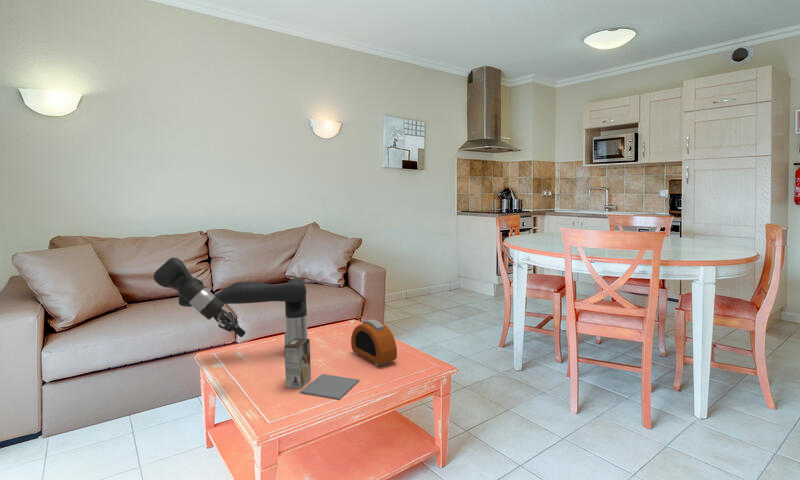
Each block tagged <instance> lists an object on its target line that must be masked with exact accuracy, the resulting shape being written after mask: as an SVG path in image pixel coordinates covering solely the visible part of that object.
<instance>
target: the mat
mask: <svg viewBox="0 0 800 480" xmlns="http://www.w3.org/2000/svg"><path fill="white" fill-rule="evenodd" d="M359 382H360V379H358V378H351V377H343V376H339V375H332V374H331V375H330V374H324V373H322V374H320V375H319V376H318V377H316V378H315V379H314V380H312V381H311V382H310V383H308V385H306V386H305V387H303V388H301V390H300V391H299V393H300V394H304V395H309V396H316V397H322V398H327V399H332V400H339V401H340V400H341V399H343V397H344V396H345V395H347V394H348V393H349V392H350V391H351V389H353V387H355V386H356V385H357V384H358V383H359Z"/></svg>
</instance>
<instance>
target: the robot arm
mask: <svg viewBox="0 0 800 480" xmlns="http://www.w3.org/2000/svg"><path fill="white" fill-rule="evenodd" d="M153 280H154V282H155V283H156V284H157V285H158V286H161V287H163V288H168V289H169V288H170V289H173V290H175V291H177V293H178V305H179V306H181V307H184V308H185V307H186V308H187V307H188V308H190V307H192V308H194V309H195V311H197V312H198V313H200V315H202V316H203V317H204V318H205V319H207V320H208V321H209V320H211V319H212V318H213V319H214V320H215V321H216V323H218V325H217V327H218V328H220V329H223V330H225V331H227V332H229V333H231V332H234V333H235V334H236V335H237V336H238V337H240V338H243V337H244V336H245V335H246V331H245V330H244V329H243V328H242V327H241V326H240V325H239V322H238V319H236V317H235V315H234V314H233V313H232V312H231V311H229V312H228V311H227V310H226V309H223V308H224V306H225V305H229V304H231V305H234V304H235V305H237V304H239V305H240V304H257V303H267V302H268V303H269V302H283V303H284V308H285V309H284V310H285V313H284V314H285V332H284V333H283V334H284V346H285V345H286V344H288V343H289V342H290V341H292V340H293V339H294V338H302V339H309V338H308V313H307V309H308V308H307V307H308V306H307V287H306V286H307V285H306V284H305V283H304V280H303V281H302V279H299V278H292V279H289V280H288V281H287V282H286V283H280V284H278V283H277V284H273V283H272V284H271V283H270V284H269V283H266V282H265V283H264V282H257V281H237V282H234V283H232V284H230V285H228V286H227V287H225V288H224V289H222V290H221V291H218V292H217V293H215V294H213V293H212V291H209V289H206V288H205V286H204V283H203V281H202V280H200V279H198V278H196V277H194V276H193V275H192V274H191V272H190V271H189V270H188V268H187V267H186V265H185V264H184V262H183V261H182V260H181V259H180V258H177V257H170V258H169V259H167V260H166V261H165V262H164V263H163V264H162V265H160V266H159V268H157V269H156V270H155V271H154V273H153Z"/></svg>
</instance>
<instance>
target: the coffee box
mask: <svg viewBox="0 0 800 480" xmlns="http://www.w3.org/2000/svg"><path fill="white" fill-rule="evenodd" d="M310 342H311V341H310V338H308V339H302V338H294V339H293V340H292V341H290V342H289V343H288V344H286V345H285V344H284V347H283V348H284V350H283V351H284V366H285V367H284V369H285V370H284V371H285V372H284V373H285V374H284V375H285V388H288V389H289V388H291V389H299V390H300V389H301V390H302V389H303V388H304V386H305V385H306V384H307V383H308V382H309V381H310V380H311V379H312V377H311V376H312V375H311V374H312V372H311V371H312V370H311V369H312V368H311V345H310V344H311V343H310Z"/></svg>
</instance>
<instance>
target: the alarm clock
mask: <svg viewBox="0 0 800 480" xmlns="http://www.w3.org/2000/svg"><path fill="white" fill-rule="evenodd" d="M350 345H351V346H350V347H351V350H352V351H353V352H354V353H355V355H356V356H359V355H360V356H361V357H364V358H365V359H367V360H369V361H370V362H372V363H374V365H375V366H376V367H378V366H382V365H385V364H388V363H391V362H393V361H395V360H396V359H397V358H398V357H397V356H398V349H397V348H398V347H397V344H396V340H395V337H394V334H393V333H392V332H391V330H390V328H389V327H388V326H387V325H386V324H384V323H383V322H381V321H378V320H377V319H368V320H367V319H366V320H363V321H362V323H361V324H358V325H356V326H355V327H354V329H353V331H352V333H351V337H350Z"/></svg>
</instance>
